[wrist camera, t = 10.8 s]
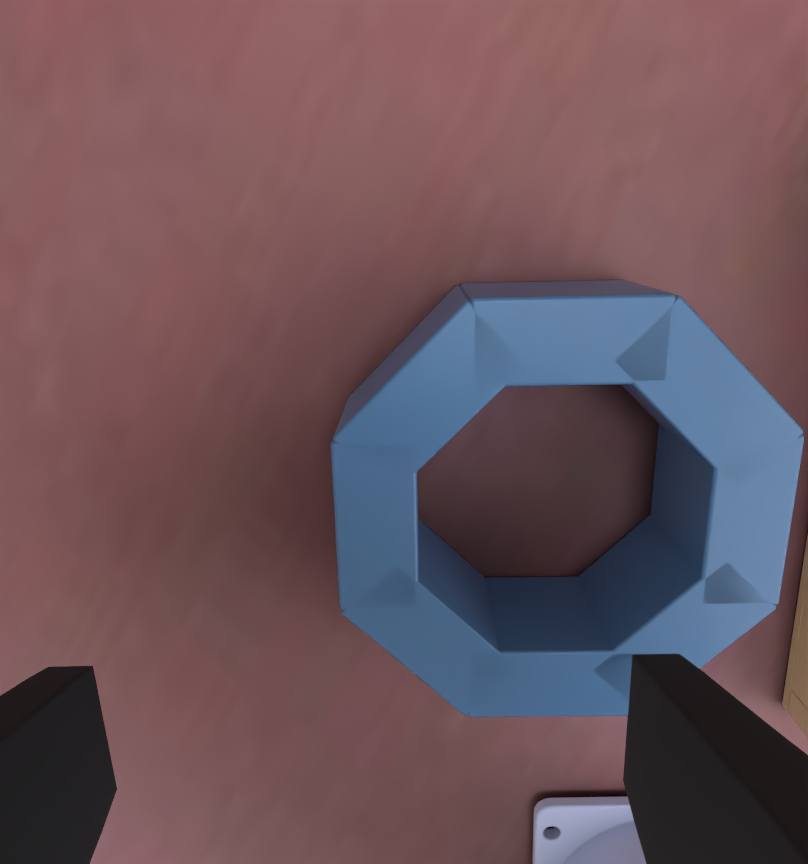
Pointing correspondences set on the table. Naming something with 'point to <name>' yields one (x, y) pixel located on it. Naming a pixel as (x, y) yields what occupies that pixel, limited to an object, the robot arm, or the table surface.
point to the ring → (621, 565)
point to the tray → (799, 658)
